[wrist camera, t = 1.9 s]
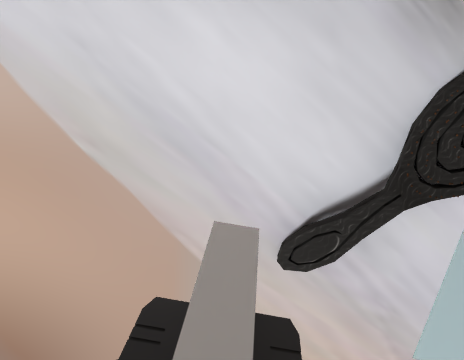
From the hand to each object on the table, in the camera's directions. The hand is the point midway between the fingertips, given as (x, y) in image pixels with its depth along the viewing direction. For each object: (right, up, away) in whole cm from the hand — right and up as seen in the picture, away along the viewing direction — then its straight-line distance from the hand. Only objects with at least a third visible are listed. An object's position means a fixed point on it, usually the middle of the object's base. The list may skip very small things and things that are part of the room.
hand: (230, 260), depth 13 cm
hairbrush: (+13, +3, +15) cm, 20 cm away
